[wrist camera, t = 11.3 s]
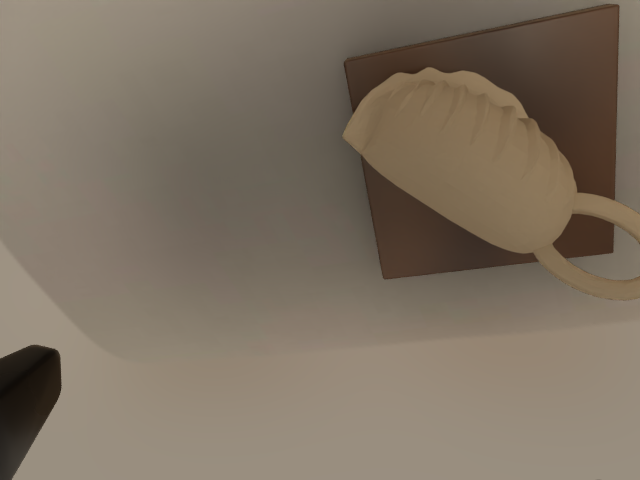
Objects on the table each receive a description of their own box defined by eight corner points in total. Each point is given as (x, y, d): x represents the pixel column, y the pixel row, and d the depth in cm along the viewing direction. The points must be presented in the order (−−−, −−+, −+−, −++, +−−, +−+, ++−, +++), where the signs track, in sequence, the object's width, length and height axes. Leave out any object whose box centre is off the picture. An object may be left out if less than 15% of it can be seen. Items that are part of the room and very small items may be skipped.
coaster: (383, 269, 20) (383, 280, 19) (345, 58, 17) (343, 61, 16) (605, 243, 19) (614, 253, 18) (609, 3, 15) (620, 3, 15)
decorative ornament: (413, 24, 16) (420, 38, 11) (620, 179, 17) (710, 254, 12) (337, 132, 17) (315, 187, 12) (530, 266, 18) (576, 363, 14)
